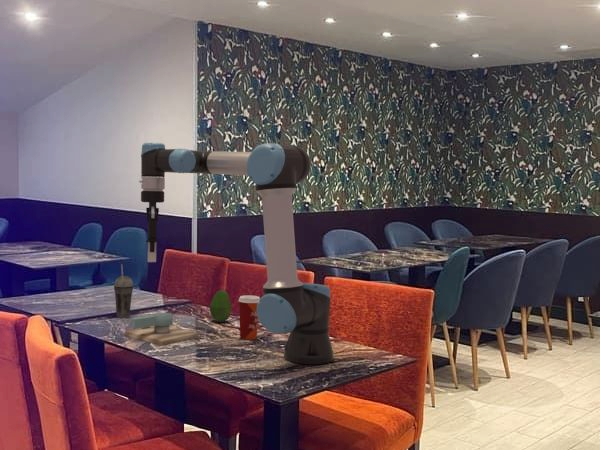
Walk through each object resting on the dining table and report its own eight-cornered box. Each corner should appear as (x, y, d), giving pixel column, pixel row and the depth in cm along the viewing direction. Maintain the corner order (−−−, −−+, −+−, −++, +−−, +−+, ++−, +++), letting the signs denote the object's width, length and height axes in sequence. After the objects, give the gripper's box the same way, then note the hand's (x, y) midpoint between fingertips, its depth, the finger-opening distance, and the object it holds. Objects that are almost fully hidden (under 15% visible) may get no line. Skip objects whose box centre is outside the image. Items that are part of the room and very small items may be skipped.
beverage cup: (137, 316, 260) (138, 264, 259) (122, 319, 254) (123, 265, 253) (123, 314, 264) (124, 262, 263) (108, 316, 258) (109, 263, 256)
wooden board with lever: (197, 337, 232) (198, 325, 232) (161, 345, 219) (161, 333, 219) (161, 328, 243) (162, 317, 243) (125, 335, 230) (125, 323, 230)
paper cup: (256, 341, 230) (257, 299, 229) (234, 339, 231) (235, 298, 230) (262, 336, 237) (263, 295, 236) (240, 334, 239) (242, 294, 238)
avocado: (231, 319, 262) (232, 288, 261) (230, 324, 254) (231, 292, 253) (210, 319, 261) (211, 287, 260) (208, 323, 254) (209, 291, 253)
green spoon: (165, 320, 236) (165, 312, 236) (176, 324, 231) (176, 315, 231) (127, 325, 226) (127, 316, 226) (138, 330, 221) (138, 320, 220)
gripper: (140, 189, 232) (140, 259, 234) (141, 190, 219) (140, 264, 221) (163, 190, 234) (162, 259, 235) (165, 190, 221) (164, 264, 223)
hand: (151, 261), depth 228 cm, fingers closed
